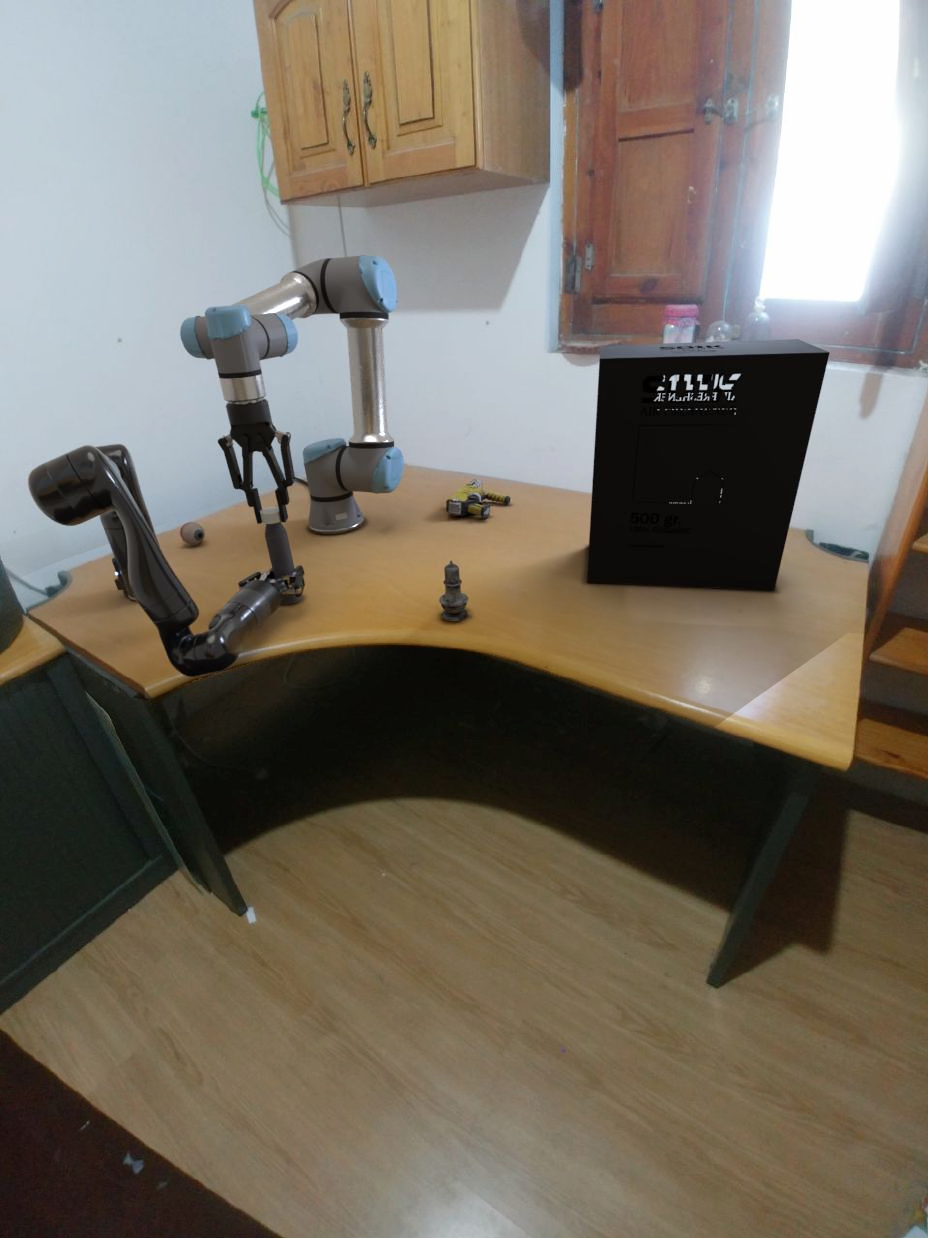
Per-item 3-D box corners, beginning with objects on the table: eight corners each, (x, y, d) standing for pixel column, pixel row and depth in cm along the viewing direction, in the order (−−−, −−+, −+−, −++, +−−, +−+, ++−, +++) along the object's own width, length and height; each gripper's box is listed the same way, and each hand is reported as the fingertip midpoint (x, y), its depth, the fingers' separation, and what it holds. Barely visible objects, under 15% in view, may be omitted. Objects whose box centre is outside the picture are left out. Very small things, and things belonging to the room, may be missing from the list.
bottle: (293, 606, 129) (273, 517, 119) (275, 603, 130) (255, 515, 120) (304, 596, 132) (287, 509, 122) (288, 594, 134) (269, 508, 124)
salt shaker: (466, 622, 119) (462, 567, 113) (437, 621, 120) (432, 566, 114) (471, 608, 123) (469, 554, 117) (443, 606, 125) (439, 553, 119)
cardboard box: (754, 550, 140) (797, 339, 118) (774, 590, 123) (829, 352, 101) (589, 545, 148) (601, 345, 125) (586, 582, 131) (599, 358, 108)
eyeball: (193, 549, 159) (187, 528, 156) (179, 545, 162) (172, 524, 159) (212, 541, 163) (206, 520, 160) (198, 538, 166) (191, 517, 163)
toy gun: (518, 484, 183) (472, 477, 187) (496, 507, 163) (444, 499, 167) (517, 499, 185) (471, 492, 189) (494, 524, 165) (443, 515, 169)
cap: (276, 515, 125) (274, 505, 124) (288, 519, 122) (285, 509, 121) (257, 521, 122) (255, 511, 121) (269, 525, 119) (267, 515, 118)
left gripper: (281, 591, 113) (318, 553, 127) (213, 587, 116) (256, 551, 130) (289, 625, 117) (324, 585, 131) (223, 621, 119) (264, 582, 134)
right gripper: (297, 393, 114) (318, 511, 125) (206, 399, 114) (235, 516, 125) (288, 401, 107) (312, 524, 119) (191, 406, 107) (224, 530, 119)
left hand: (290, 568), depth 130 cm, fingers closed on bottle, 4 cm apart
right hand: (272, 520), depth 122 cm, fingers closed on cap, 4 cm apart
